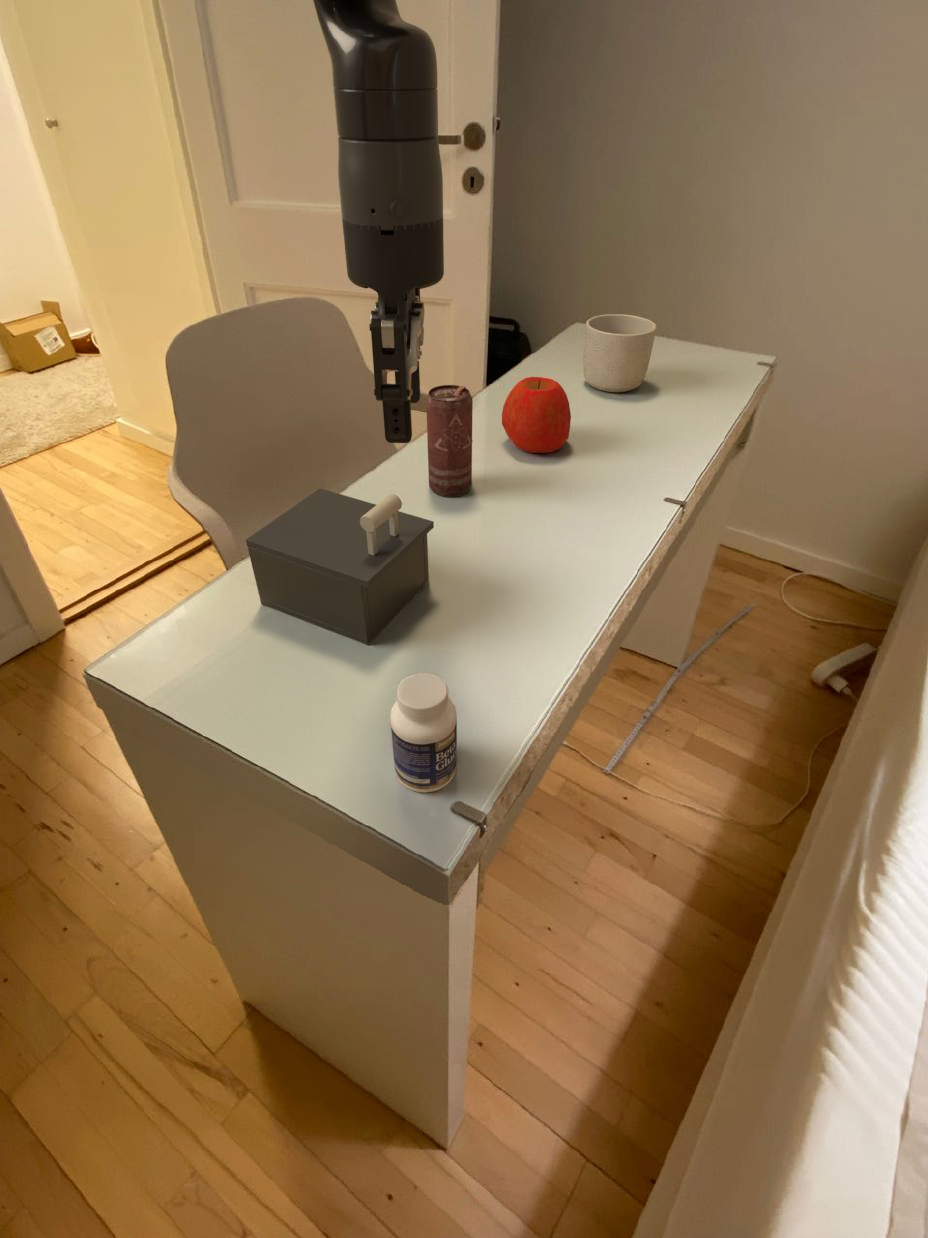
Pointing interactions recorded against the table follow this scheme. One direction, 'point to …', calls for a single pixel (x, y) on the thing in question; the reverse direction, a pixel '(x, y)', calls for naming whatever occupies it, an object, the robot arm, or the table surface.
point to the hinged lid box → (340, 592)
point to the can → (449, 440)
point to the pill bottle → (424, 733)
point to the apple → (537, 415)
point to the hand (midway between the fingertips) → (404, 420)
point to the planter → (617, 351)
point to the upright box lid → (343, 535)
